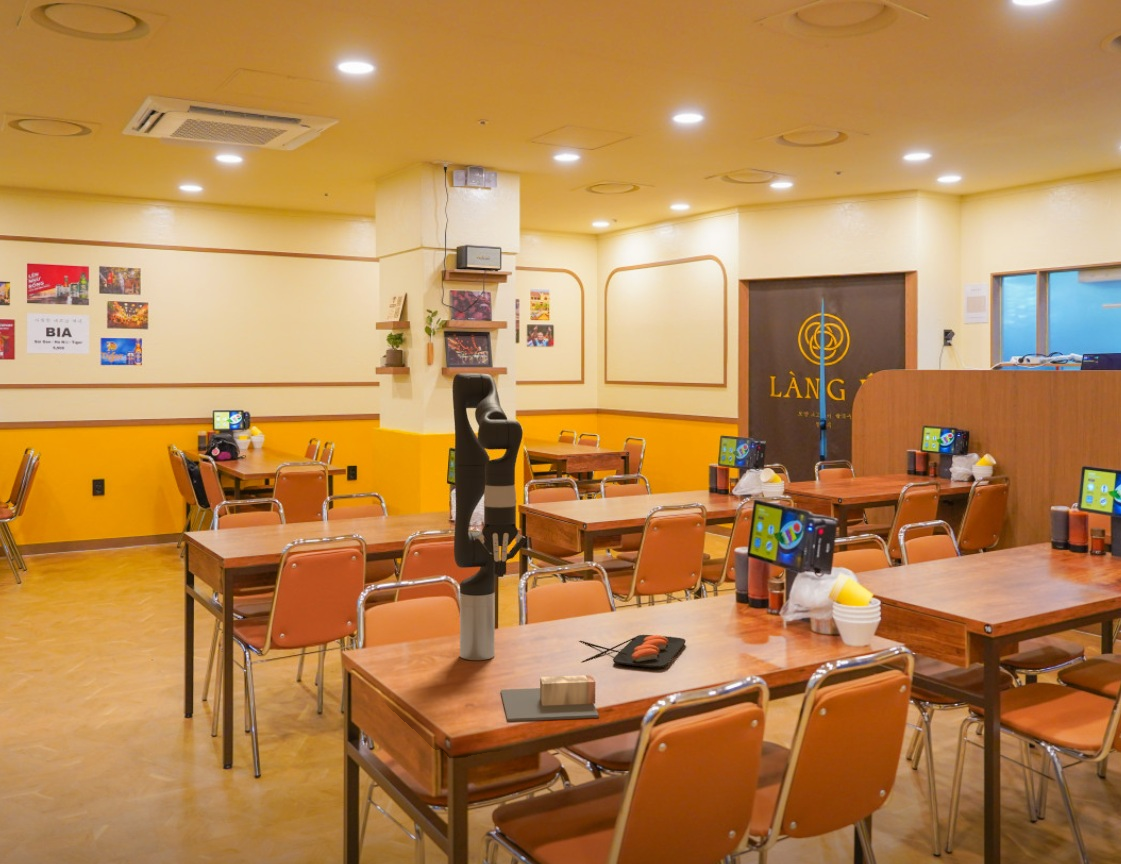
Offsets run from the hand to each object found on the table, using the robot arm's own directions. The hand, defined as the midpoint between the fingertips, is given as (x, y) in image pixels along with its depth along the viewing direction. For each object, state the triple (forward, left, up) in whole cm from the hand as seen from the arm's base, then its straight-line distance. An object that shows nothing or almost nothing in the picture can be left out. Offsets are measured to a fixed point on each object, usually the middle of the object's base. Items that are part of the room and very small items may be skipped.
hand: (499, 576), depth 232 cm
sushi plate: (-28, +35, -28) cm, 53 cm away
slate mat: (+13, +10, -27) cm, 32 cm away
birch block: (+13, +8, -24) cm, 29 cm away
